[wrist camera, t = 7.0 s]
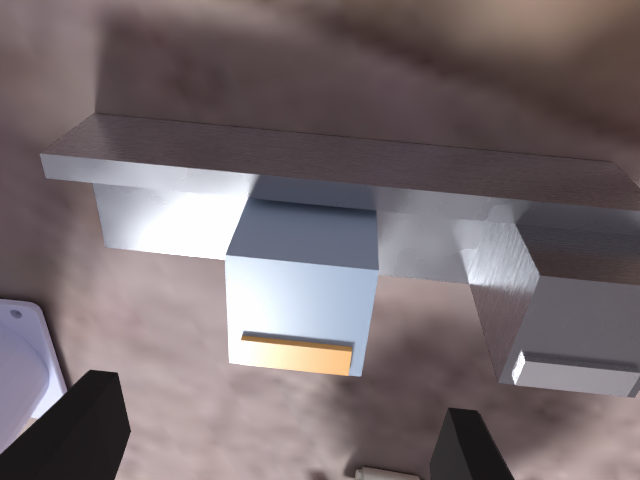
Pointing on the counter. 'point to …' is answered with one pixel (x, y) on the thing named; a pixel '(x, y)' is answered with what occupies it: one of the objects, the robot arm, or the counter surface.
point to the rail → (402, 226)
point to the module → (301, 286)
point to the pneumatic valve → (381, 475)
